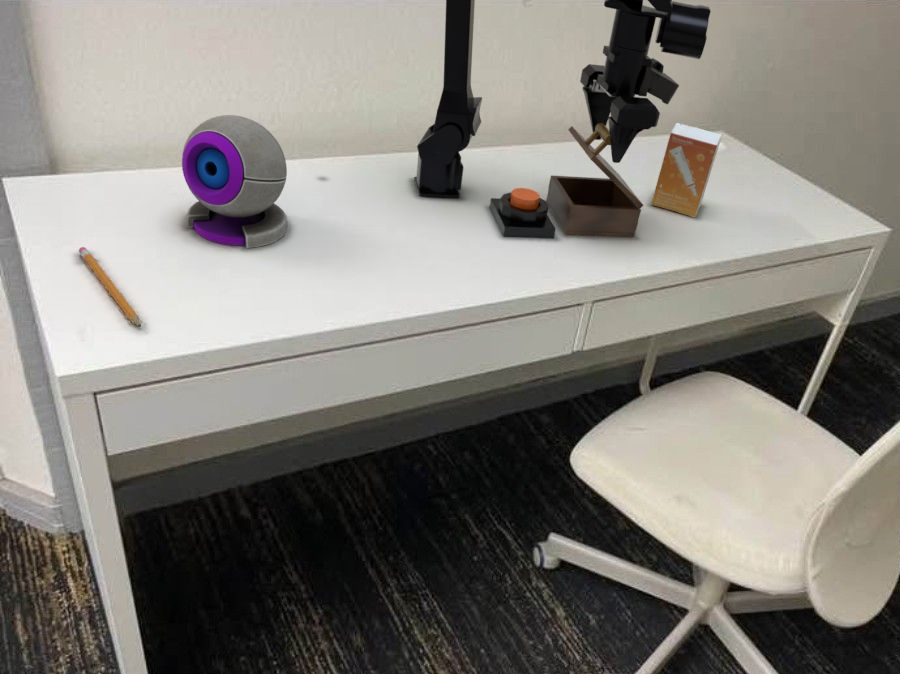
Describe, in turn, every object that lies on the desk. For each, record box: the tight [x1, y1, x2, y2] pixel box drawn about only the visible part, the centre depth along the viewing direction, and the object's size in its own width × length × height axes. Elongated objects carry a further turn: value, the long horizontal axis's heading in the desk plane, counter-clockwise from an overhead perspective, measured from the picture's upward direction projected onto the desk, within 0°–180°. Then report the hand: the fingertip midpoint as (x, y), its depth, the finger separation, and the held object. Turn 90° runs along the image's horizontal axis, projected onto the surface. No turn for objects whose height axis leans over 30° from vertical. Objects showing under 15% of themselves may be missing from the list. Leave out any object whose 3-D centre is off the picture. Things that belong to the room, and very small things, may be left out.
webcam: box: [181, 114, 288, 249], centre depth 113 cm, size 13×13×15 cm
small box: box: [651, 122, 723, 218], centre depth 145 cm, size 8×6×13 cm
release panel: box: [489, 192, 556, 239], centre depth 132 cm, size 10×8×4 cm
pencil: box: [78, 246, 142, 328], centre depth 99 cm, size 1×1×19 cm
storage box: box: [545, 175, 642, 239], centre depth 136 cm, size 12×12×5 cm
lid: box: [568, 123, 645, 209], centre depth 132 cm, size 12×12×5 cm
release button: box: [510, 187, 541, 210], centre depth 130 cm, size 4×4×2 cm
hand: (606, 150), depth 131 cm, fingers open, 9 cm apart
